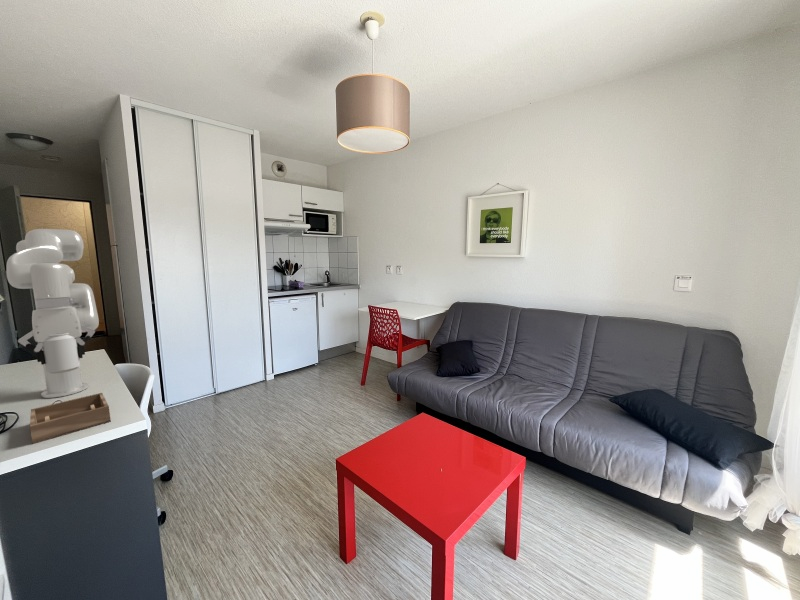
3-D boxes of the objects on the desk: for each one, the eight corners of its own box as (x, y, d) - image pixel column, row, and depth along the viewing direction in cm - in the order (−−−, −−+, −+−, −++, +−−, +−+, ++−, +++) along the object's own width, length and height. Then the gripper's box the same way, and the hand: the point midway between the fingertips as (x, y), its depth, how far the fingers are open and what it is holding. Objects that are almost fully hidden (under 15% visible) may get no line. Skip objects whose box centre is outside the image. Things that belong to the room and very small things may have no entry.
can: (87, 366, 104) (82, 330, 103) (61, 374, 97) (55, 335, 96) (66, 367, 105) (61, 330, 104) (39, 374, 98) (32, 335, 97)
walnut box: (33, 424, 99) (30, 409, 98) (104, 406, 111) (102, 392, 110) (32, 444, 88) (29, 426, 88) (110, 421, 100) (108, 406, 99)
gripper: (91, 300, 108) (99, 352, 110) (10, 306, 95) (20, 365, 97) (94, 301, 103) (101, 355, 105) (8, 308, 90) (19, 370, 92)
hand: (62, 360), depth 101 cm, fingers closed on can, 7 cm apart
